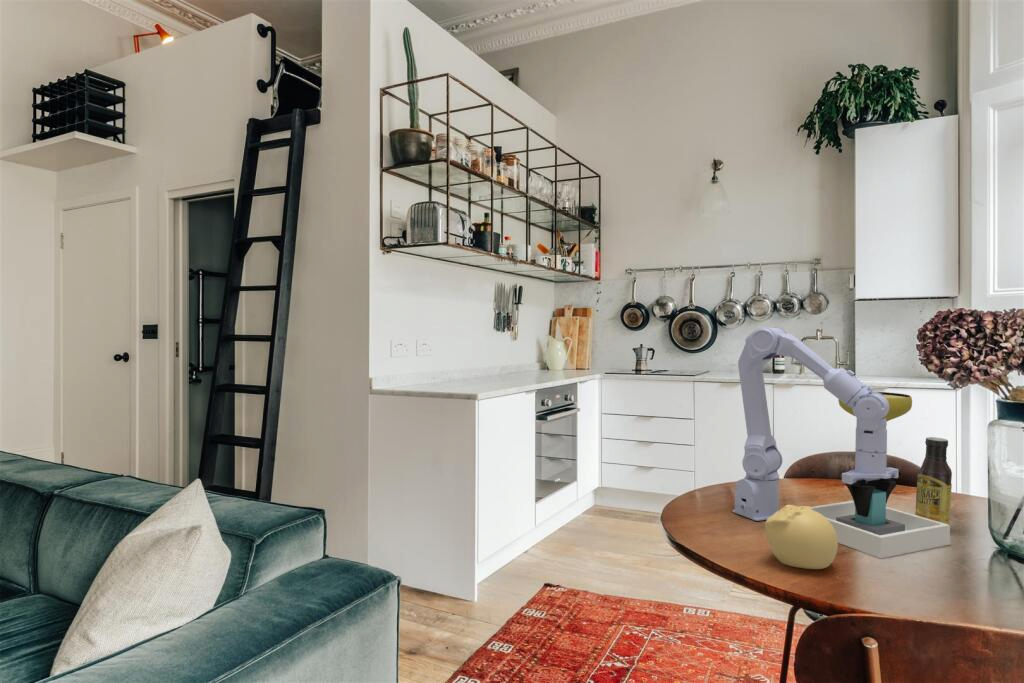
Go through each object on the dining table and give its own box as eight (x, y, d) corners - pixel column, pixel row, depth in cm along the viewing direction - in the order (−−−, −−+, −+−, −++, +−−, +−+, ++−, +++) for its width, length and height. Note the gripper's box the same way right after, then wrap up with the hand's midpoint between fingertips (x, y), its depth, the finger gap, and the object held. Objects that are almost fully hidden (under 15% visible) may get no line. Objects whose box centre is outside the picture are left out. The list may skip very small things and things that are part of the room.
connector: (872, 532, 127) (872, 493, 127) (854, 526, 131) (855, 489, 131) (885, 529, 129) (886, 492, 129) (868, 524, 133) (868, 487, 132)
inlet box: (880, 558, 117) (881, 537, 117) (796, 527, 136) (796, 509, 136) (949, 544, 125) (950, 525, 125) (860, 516, 143) (860, 499, 143)
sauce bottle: (908, 525, 137) (909, 436, 136) (928, 522, 139) (929, 434, 138) (937, 534, 131) (939, 441, 130) (957, 531, 133) (959, 439, 132)
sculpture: (783, 547, 123) (783, 494, 123) (847, 565, 114) (847, 507, 114) (755, 562, 115) (755, 505, 115) (821, 582, 106) (822, 520, 106)
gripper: (863, 456, 123) (862, 524, 124) (912, 451, 129) (911, 515, 129) (833, 450, 130) (832, 514, 130) (881, 445, 135) (880, 506, 136)
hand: (870, 514), depth 130 cm, fingers closed on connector, 4 cm apart
